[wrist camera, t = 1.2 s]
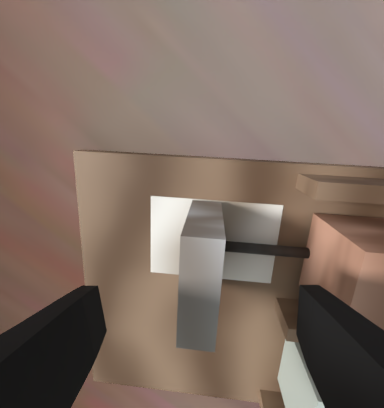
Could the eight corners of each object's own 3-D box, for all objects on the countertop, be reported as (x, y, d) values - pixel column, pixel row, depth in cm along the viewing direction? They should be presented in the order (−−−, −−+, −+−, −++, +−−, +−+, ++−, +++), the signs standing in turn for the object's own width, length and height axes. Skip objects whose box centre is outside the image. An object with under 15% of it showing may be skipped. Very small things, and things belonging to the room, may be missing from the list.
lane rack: (411, 168, 13) (486, 180, 9) (341, 396, 18) (373, 461, 14) (84, 149, 14) (41, 153, 11) (100, 366, 19) (75, 418, 15)
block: (360, 333, 15) (422, 415, 10) (344, 386, 16) (392, 478, 12) (287, 325, 15) (318, 401, 11) (277, 378, 16) (300, 465, 12)
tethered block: (402, 215, 12) (525, 264, 7) (376, 296, 14) (466, 382, 9) (192, 200, 13) (180, 236, 8) (188, 277, 14) (175, 347, 10)
